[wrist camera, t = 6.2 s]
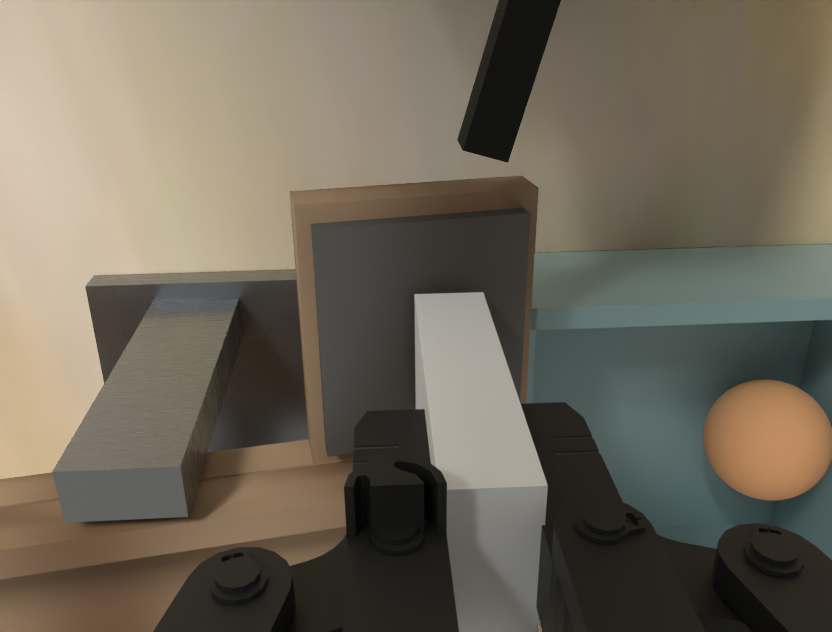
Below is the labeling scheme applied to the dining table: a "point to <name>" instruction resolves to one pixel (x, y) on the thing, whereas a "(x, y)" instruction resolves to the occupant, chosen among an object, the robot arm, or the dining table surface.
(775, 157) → the dining table surface
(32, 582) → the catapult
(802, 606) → the robot arm
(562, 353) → the tray
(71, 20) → the dining table surface
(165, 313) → the stand
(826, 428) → the ball
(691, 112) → the dining table surface
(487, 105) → the toy
